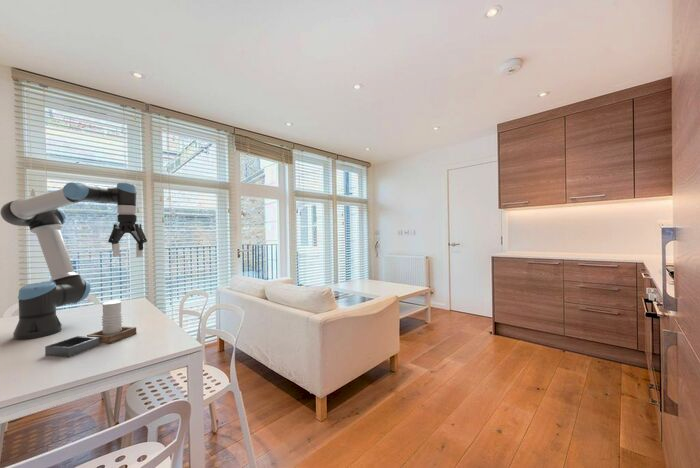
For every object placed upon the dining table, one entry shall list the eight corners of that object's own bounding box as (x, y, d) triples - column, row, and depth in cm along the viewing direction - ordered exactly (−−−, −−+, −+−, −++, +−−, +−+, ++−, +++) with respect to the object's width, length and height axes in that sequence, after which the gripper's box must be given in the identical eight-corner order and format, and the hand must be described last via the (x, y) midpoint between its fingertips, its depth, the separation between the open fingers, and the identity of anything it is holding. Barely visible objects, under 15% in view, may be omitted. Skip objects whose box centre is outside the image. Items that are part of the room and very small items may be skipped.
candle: (113, 332, 131) (112, 300, 131) (126, 333, 130) (125, 300, 130) (97, 338, 124) (97, 304, 124) (111, 339, 123) (111, 304, 123)
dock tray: (86, 342, 122) (86, 335, 122) (114, 332, 134) (114, 326, 134) (110, 343, 120) (110, 336, 120) (136, 333, 132) (136, 327, 132)
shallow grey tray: (45, 355, 109) (45, 346, 109) (77, 344, 120) (77, 336, 120) (68, 357, 107) (68, 348, 107) (99, 345, 118) (99, 337, 118)
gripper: (155, 214, 144) (155, 256, 144) (113, 215, 148) (114, 255, 148) (141, 213, 136) (142, 257, 137) (98, 214, 141) (99, 257, 141)
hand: (127, 256), depth 143 cm, fingers open, 13 cm apart
